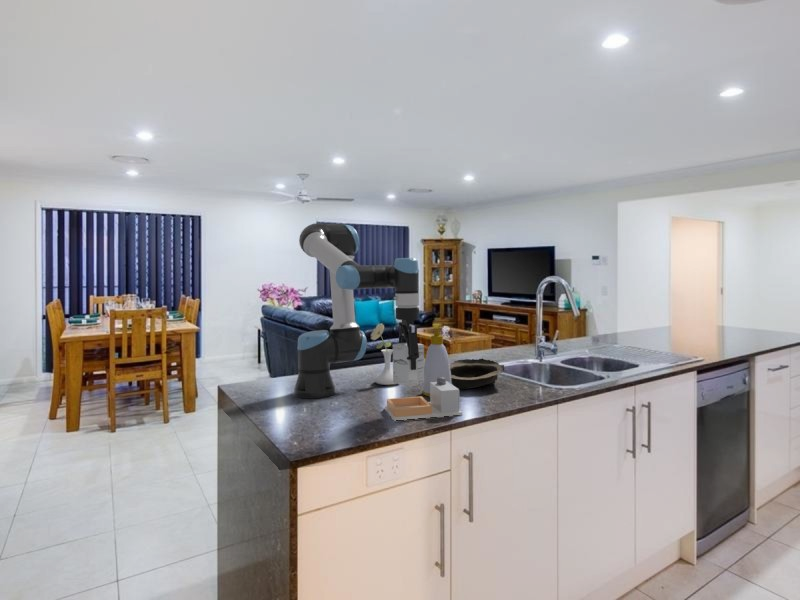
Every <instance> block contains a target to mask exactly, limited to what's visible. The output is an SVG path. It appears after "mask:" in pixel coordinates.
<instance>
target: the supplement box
mask: <svg viewBox="0 0 800 600" xmlns="http://www.w3.org/2000/svg"><path fill="white" fill-rule="evenodd" d="M392 350H393V352H392V370H393V383H397V384H398V385H402V386H405V387H413V386H418V385H421V384H423V383H424V366H425V352H424V351H425V345H424V344H422V343H418V350H419V358H417V380H408V360H407V357H409V355H408V346H407V343H399V342H398V343H393V344H392ZM397 384H396V385H397Z"/></svg>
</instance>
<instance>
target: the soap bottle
mask: <svg viewBox="0 0 800 600" xmlns="http://www.w3.org/2000/svg"><path fill="white" fill-rule="evenodd" d="M442 326H443V325H442V323H432V328H433V335H430V344H429V346H428V348H427V352H426V356H425V358H424V383H422V384H423V386H422V388H423V389H422V395H424V396H426V397H429V398H430V382H437V377H445V378H446V381H447V382H449V383H450V384H452V382H451V371H450V365H451V363H450V359H449V355H448V352H447V348H446V346H445V345H444V343H443V342H444V338H443V337H444V336H443V335H440V328H441V327H442ZM452 385H453V384H452Z"/></svg>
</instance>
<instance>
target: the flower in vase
mask: <svg viewBox="0 0 800 600" xmlns="http://www.w3.org/2000/svg"><path fill="white" fill-rule="evenodd" d="M384 331H385V324H383V323H378V324H377V325H376V327H375V328H373V329H372V332H371V334H370V339H371V340H373V341H376V340H377V339H379V338H380V337H381V339H382V342H380V343H378V344H377V346H376V349H381V348H382V347H383V346H384V348H385V349H381V350H380V351H381V353H382V354H383V358H384V367H383V369H382V370H381V371H380V372H379V373H378V374H377V375H376V376H375V377H374V379H373V381H374V383H375V384H378V385H382V386H383V385H384V386H391V385H392V386H393V385H397V383H393V368H392V367H391V359H392V355H393V348H392V349H389V347H391V345H392V340H389V341H387V342H385V341H384V339H383V336H382V334H383V333H384Z"/></svg>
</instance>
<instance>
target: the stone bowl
mask: <svg viewBox="0 0 800 600" xmlns="http://www.w3.org/2000/svg"><path fill="white" fill-rule="evenodd" d="M450 371H451V382H452V385H453V386H455V387H456V388H458V389H461V390H468V389H474V388H479V387H482V386H486V385H489V386H492V385H494V384H495V383H496V381H498V375H500V374H502V373H504V372H505V365H504V364H500V363H499V362H497V361H494V360H490V359H485V358H483V357H482V358H478V359H473V358H472V359H458V360H454V361H453V362H451V363H450Z"/></svg>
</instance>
